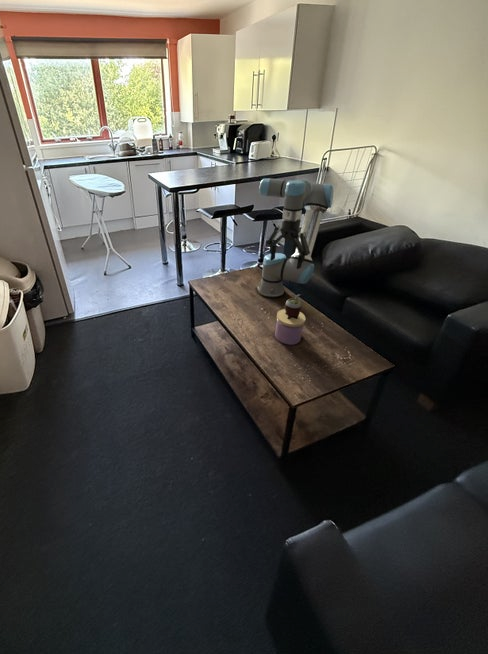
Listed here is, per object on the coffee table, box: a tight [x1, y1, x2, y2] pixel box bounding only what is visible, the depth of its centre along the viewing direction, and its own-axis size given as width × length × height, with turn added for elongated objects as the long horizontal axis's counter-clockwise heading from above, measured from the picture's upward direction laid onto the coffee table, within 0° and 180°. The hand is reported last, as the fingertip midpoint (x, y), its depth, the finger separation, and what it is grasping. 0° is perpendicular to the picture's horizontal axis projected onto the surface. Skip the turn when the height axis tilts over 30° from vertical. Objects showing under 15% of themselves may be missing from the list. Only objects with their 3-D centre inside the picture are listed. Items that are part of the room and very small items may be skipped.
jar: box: [274, 308, 306, 345], centre depth 148 cm, size 13×13×12 cm
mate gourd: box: [284, 294, 302, 319], centre depth 141 cm, size 8×8×15 cm
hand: (285, 263), depth 146 cm, fingers open, 13 cm apart
